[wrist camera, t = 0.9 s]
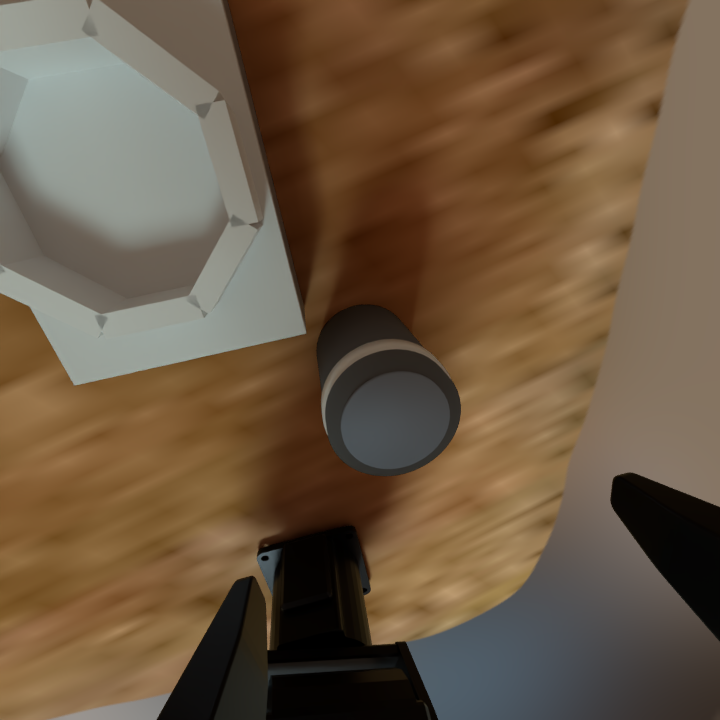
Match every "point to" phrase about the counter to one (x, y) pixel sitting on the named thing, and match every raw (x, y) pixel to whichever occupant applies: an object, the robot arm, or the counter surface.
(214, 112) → the octagonal ring tray
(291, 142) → the counter surface
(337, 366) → the lens
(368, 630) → the robot arm
